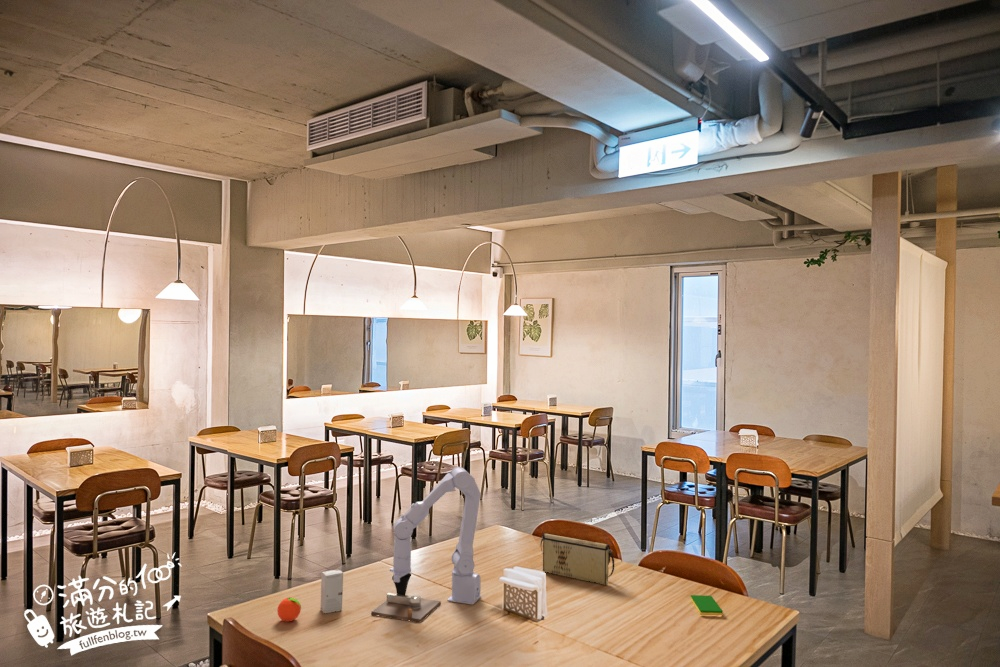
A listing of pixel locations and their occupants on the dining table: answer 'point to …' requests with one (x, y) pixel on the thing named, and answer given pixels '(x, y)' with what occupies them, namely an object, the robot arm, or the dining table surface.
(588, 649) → the dining table surface
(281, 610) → the clementine
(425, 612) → the base board
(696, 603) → the dish sponge
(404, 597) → the cap handle
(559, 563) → the clutch purse
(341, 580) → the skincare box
